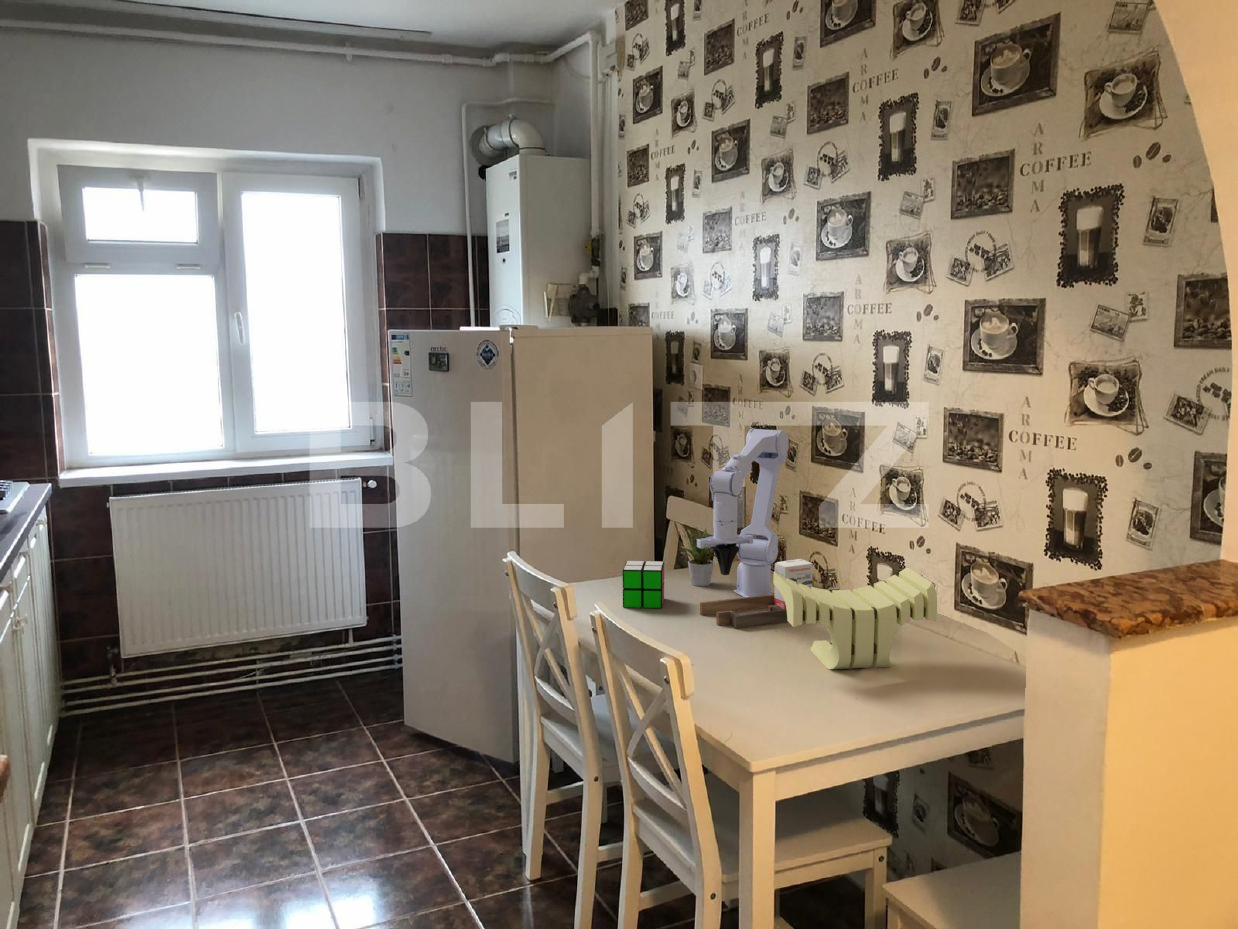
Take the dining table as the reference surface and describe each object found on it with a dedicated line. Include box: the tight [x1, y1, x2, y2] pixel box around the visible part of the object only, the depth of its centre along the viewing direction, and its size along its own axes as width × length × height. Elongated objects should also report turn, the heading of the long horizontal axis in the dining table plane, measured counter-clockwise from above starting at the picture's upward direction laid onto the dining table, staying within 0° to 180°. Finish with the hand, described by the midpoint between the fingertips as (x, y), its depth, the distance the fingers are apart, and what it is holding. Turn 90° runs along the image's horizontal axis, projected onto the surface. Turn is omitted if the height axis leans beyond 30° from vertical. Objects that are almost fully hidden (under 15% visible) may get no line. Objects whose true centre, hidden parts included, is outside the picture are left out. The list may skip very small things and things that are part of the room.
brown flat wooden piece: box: [699, 593, 789, 630], centre depth 242 cm, size 14×31×3 cm, turn 111°
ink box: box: [773, 558, 814, 609], centre depth 248 cm, size 8×5×12 cm, turn 117°
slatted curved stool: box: [773, 567, 938, 670], centre depth 208 cm, size 30×16×18 cm, turn 96°
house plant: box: [677, 525, 717, 587], centre depth 271 cm, size 14×14×16 cm
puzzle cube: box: [622, 560, 665, 610], centre depth 253 cm, size 10×10×10 cm
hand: (724, 574), depth 243 cm, fingers closed
